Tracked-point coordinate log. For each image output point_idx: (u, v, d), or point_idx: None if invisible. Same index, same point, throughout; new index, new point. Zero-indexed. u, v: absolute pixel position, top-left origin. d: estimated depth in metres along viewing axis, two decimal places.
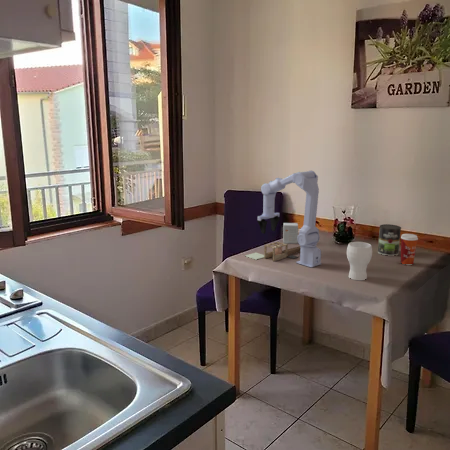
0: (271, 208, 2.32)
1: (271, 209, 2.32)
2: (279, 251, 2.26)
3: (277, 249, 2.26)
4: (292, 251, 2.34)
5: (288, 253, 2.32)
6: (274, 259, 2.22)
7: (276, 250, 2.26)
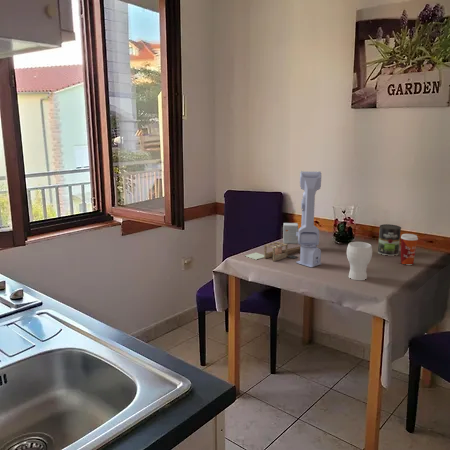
0: None
1: None
2: (279, 251, 2.26)
3: (277, 249, 2.26)
4: (292, 251, 2.34)
5: (287, 253, 2.32)
6: (274, 259, 2.22)
7: (276, 250, 2.26)
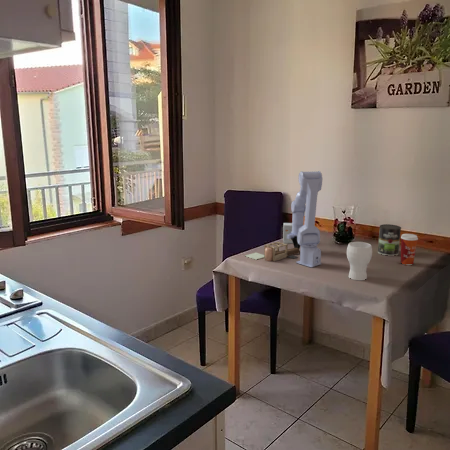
0: (300, 226, 2.32)
1: (300, 227, 2.32)
2: (270, 254, 2.22)
3: (268, 252, 2.21)
4: None
5: None
6: (274, 259, 2.22)
7: (267, 253, 2.22)
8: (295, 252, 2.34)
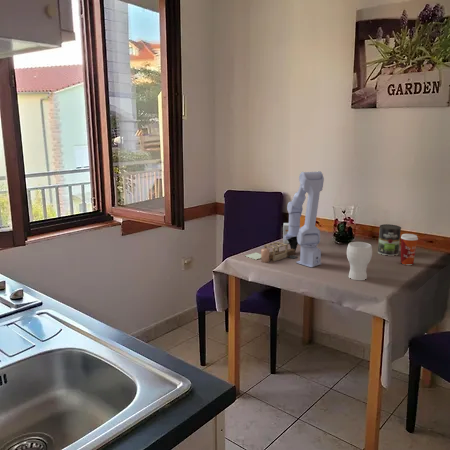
0: (297, 227, 2.30)
1: (297, 228, 2.30)
2: (267, 255, 2.20)
3: (265, 253, 2.19)
4: None
5: None
6: (274, 259, 2.22)
7: (264, 254, 2.20)
8: (291, 253, 2.32)
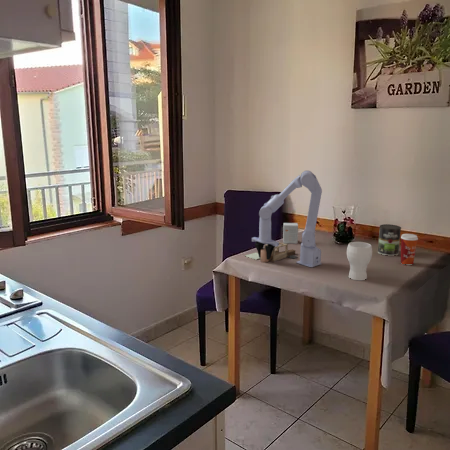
0: (260, 232, 2.18)
1: (260, 233, 2.18)
2: (266, 255, 2.20)
3: (264, 253, 2.20)
4: None
5: None
6: (274, 259, 2.22)
7: (263, 254, 2.20)
8: (291, 254, 2.32)
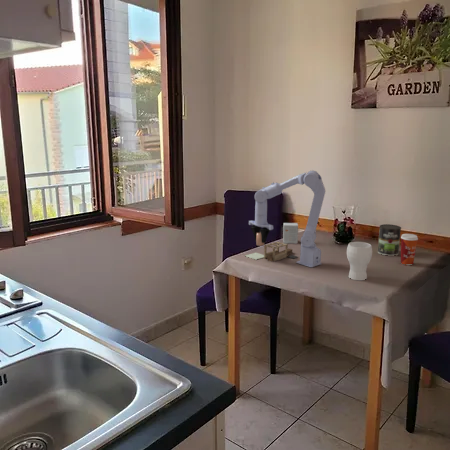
0: (255, 216, 2.20)
1: (255, 217, 2.20)
2: (261, 238, 2.21)
3: (259, 236, 2.21)
4: None
5: None
6: (274, 259, 2.22)
7: (258, 237, 2.22)
8: (289, 253, 2.33)
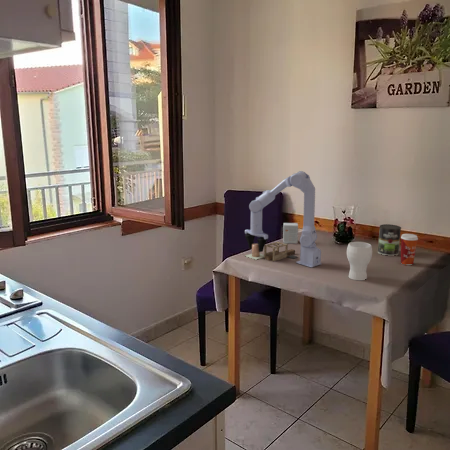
0: (251, 225, 2.25)
1: (251, 226, 2.25)
2: (257, 250, 2.27)
3: (255, 248, 2.27)
4: None
5: None
6: (274, 259, 2.22)
7: (254, 249, 2.27)
8: (291, 254, 2.32)
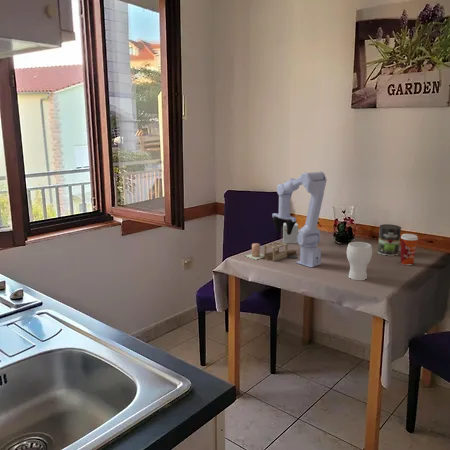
0: (279, 208, 2.32)
1: (279, 209, 2.32)
2: (257, 250, 2.27)
3: (255, 248, 2.27)
4: None
5: None
6: (274, 259, 2.22)
7: (254, 249, 2.27)
8: (292, 254, 2.31)
